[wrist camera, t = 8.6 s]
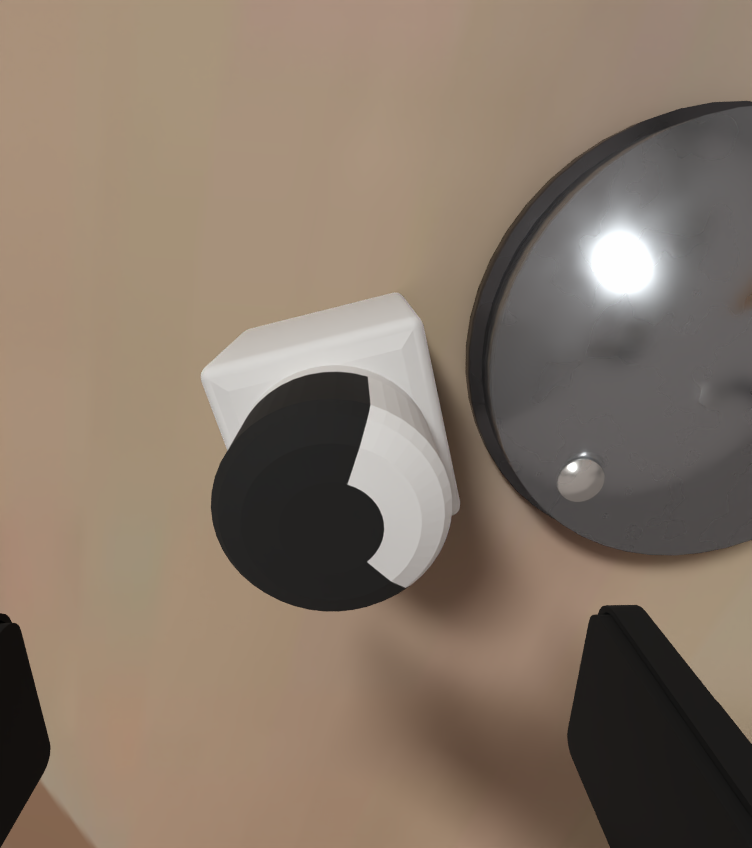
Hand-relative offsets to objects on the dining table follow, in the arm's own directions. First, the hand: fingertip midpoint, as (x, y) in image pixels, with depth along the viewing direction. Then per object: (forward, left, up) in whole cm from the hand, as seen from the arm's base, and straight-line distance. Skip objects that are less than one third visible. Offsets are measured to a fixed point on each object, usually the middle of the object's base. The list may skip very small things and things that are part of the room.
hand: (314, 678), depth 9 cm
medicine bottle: (0, 0, -16) cm, 16 cm away
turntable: (-2, +15, -15) cm, 21 cm away
